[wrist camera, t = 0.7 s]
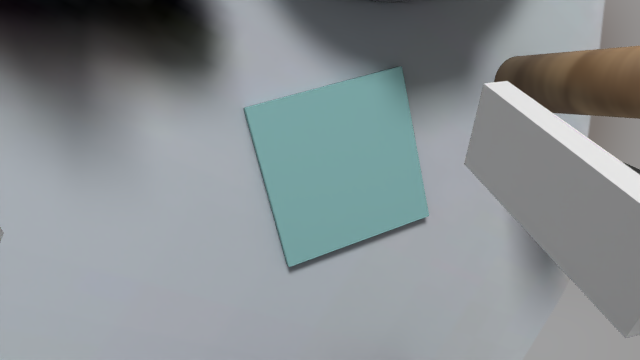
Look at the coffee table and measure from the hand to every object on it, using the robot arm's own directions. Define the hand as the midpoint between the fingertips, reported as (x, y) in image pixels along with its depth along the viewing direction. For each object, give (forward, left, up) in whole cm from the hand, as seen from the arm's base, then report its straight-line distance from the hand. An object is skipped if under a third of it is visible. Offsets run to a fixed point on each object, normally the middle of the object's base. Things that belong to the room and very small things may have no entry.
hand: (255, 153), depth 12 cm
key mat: (-6, -8, -17) cm, 20 cm away
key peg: (-4, -23, -17) cm, 29 cm away
